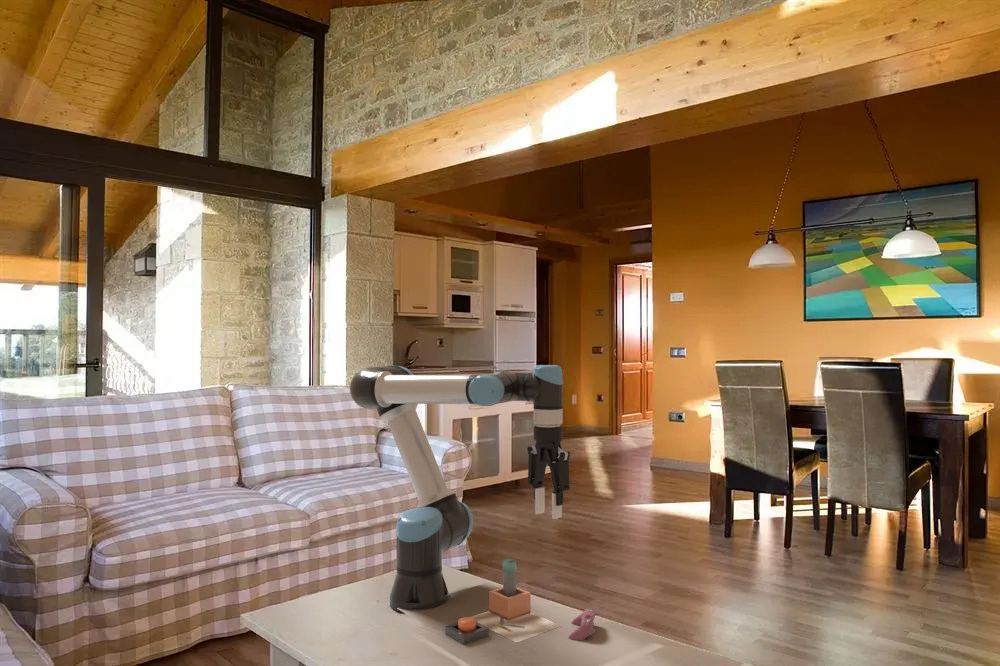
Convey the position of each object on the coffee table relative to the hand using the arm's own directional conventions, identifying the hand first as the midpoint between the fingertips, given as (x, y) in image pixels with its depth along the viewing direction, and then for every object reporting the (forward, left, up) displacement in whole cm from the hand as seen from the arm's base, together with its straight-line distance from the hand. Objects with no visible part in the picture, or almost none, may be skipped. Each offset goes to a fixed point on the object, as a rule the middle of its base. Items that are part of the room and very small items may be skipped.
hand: (548, 515), depth 180 cm
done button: (+4, -29, -20) cm, 36 cm away
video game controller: (+19, -7, -23) cm, 31 cm away
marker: (0, -13, -21) cm, 25 cm away
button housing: (+4, -29, -23) cm, 37 cm away
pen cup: (0, -13, -22) cm, 25 cm away
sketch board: (+5, -16, -23) cm, 28 cm away
